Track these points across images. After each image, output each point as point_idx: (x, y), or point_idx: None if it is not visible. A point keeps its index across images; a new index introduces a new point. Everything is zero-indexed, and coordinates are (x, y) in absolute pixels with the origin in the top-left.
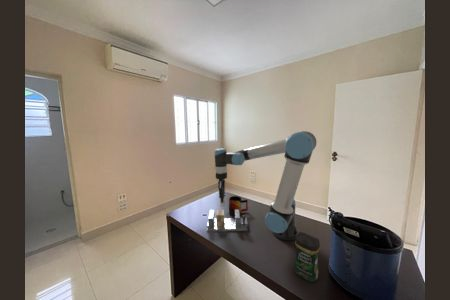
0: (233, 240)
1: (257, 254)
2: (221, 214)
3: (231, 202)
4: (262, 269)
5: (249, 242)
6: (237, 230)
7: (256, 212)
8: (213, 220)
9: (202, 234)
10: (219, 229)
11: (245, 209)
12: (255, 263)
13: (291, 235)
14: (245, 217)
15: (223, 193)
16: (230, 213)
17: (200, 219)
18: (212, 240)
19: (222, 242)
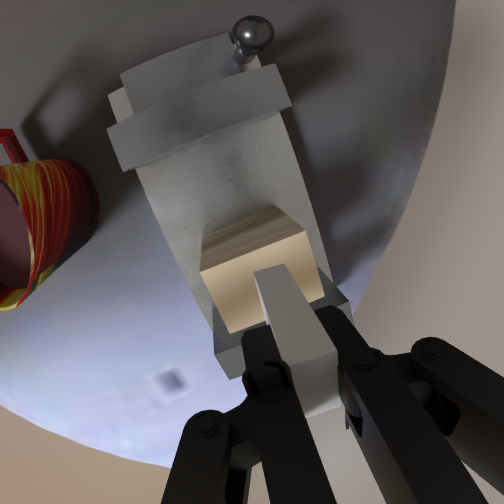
0: (366, 110)
1: (403, 3)
2: (300, 256)
3: (43, 254)
4: (448, 4)
5: (349, 26)
6: None
7: (10, 76)
8: None
9: (359, 298)
10: (316, 224)
11: (11, 142)
12: (440, 18)
13: None
14: (258, 16)
15: (430, 421)
16: (89, 233)
17: (228, 379)
18: (392, 225)
19: (395, 166)
